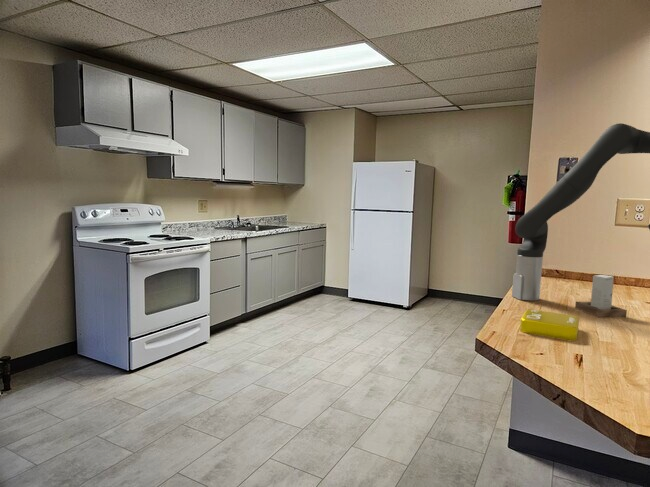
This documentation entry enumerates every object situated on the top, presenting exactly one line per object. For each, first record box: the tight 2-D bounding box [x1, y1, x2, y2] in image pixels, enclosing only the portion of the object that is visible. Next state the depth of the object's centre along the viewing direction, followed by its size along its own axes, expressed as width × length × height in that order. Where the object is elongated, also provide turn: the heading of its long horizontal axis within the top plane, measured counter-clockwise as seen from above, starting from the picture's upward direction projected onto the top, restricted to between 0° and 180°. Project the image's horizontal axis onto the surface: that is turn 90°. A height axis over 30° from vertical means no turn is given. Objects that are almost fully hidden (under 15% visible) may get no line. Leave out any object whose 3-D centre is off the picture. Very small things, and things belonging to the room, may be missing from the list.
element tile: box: [519, 308, 580, 342], centre depth 130 cm, size 15×15×5 cm
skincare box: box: [590, 274, 615, 309], centre depth 151 cm, size 6×4×12 cm
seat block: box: [574, 301, 628, 319], centre depth 152 cm, size 10×12×2 cm
